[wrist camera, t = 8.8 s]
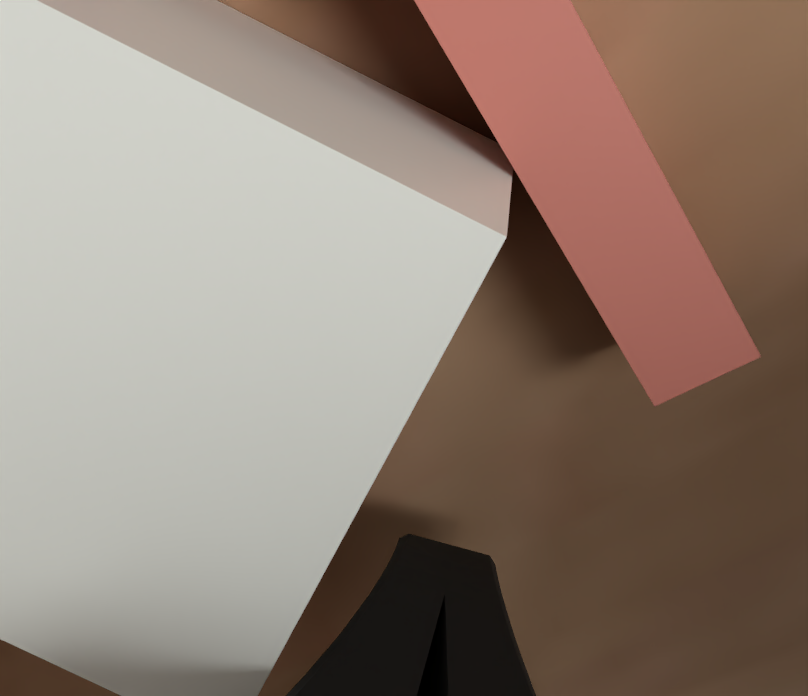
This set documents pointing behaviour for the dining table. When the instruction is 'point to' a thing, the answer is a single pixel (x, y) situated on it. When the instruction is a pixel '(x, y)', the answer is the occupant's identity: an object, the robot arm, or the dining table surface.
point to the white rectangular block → (207, 326)
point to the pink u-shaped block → (595, 186)
